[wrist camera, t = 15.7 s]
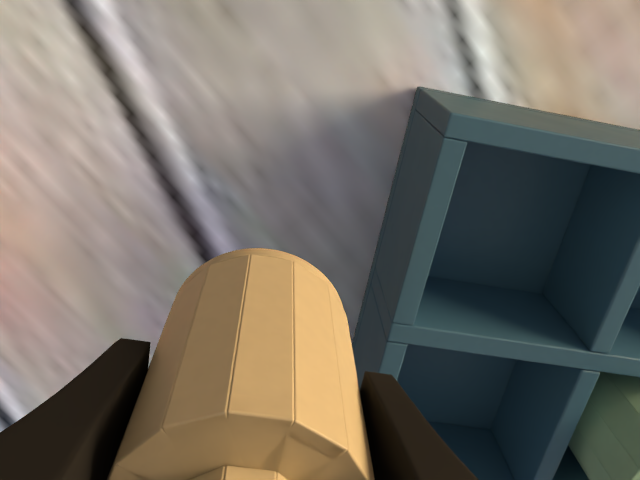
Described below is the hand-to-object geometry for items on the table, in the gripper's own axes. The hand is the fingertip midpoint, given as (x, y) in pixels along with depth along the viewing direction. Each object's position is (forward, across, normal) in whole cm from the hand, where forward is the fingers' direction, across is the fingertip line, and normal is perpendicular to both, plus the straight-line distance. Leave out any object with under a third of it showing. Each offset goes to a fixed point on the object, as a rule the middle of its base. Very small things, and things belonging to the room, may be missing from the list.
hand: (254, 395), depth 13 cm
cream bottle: (+3, 0, 0) cm, 3 cm away
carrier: (+10, -11, +1) cm, 15 cm away
